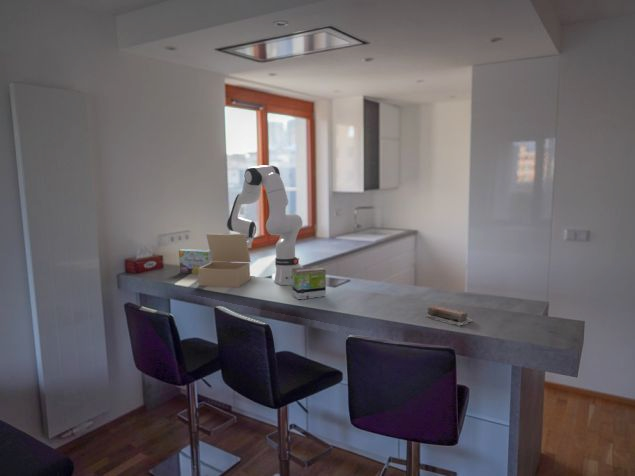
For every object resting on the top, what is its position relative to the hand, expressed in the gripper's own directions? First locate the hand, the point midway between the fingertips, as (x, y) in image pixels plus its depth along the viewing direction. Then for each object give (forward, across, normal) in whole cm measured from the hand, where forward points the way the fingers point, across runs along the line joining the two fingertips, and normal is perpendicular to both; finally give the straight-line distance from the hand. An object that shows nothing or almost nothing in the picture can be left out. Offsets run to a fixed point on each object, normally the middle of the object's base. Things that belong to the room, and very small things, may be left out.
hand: (229, 246), depth 278 cm
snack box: (-12, -29, +20) cm, 38 cm away
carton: (+8, 0, +20) cm, 22 cm away
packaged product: (+51, +125, +21) cm, 137 cm away
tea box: (+27, +56, +20) cm, 66 cm away
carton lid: (+1, 0, +1) cm, 2 cm away
